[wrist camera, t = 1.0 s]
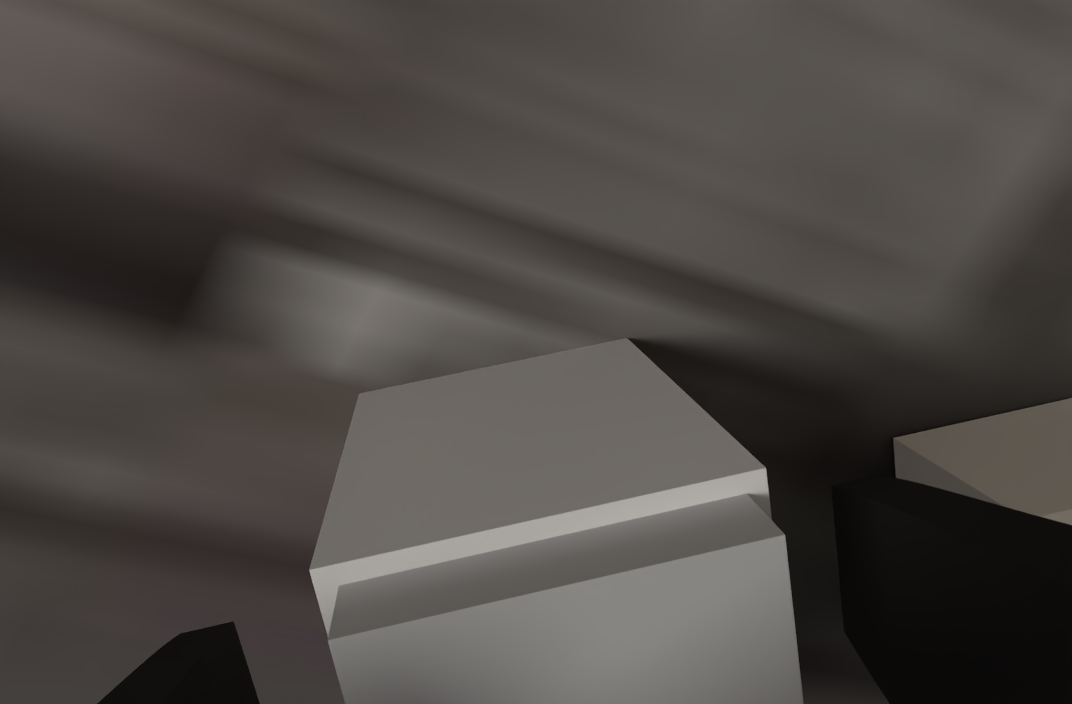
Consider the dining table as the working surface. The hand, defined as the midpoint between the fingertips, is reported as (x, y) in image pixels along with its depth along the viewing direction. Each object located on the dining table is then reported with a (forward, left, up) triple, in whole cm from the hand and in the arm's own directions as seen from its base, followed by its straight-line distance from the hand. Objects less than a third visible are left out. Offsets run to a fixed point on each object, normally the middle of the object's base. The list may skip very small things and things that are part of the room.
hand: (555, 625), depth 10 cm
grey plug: (0, 0, -3) cm, 3 cm away
